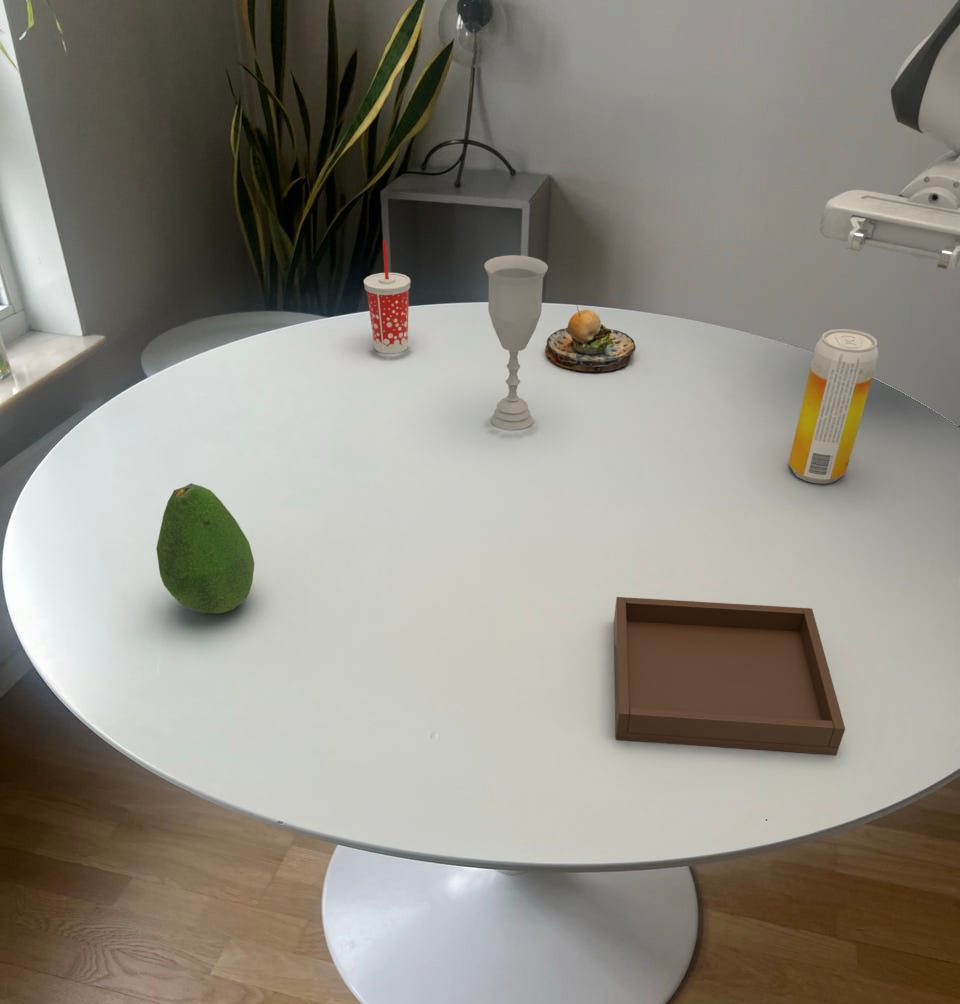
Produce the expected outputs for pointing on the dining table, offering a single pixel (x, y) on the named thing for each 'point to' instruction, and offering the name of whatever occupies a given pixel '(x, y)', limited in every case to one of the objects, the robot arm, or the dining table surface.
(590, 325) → the burger
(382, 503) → the dining table surface
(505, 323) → the chalice
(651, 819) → the dining table surface
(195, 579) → the avocado
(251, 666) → the dining table surface
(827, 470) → the beer can
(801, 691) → the serving tray
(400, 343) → the beverage cup
